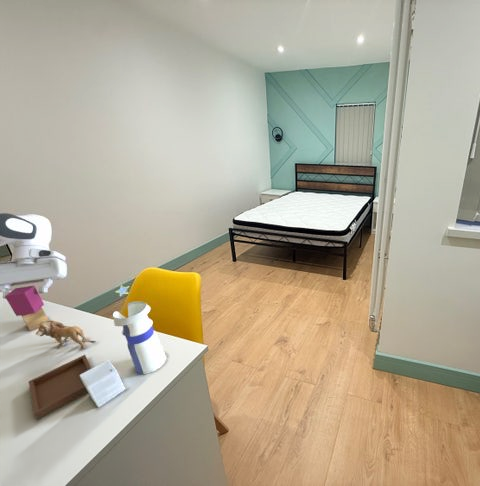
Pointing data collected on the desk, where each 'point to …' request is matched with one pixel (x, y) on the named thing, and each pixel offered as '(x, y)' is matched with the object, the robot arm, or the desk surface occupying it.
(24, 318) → the base block
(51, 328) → the lion figurine
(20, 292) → the top block
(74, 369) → the tray
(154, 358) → the white milk jug
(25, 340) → the desk surface
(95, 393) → the product box
